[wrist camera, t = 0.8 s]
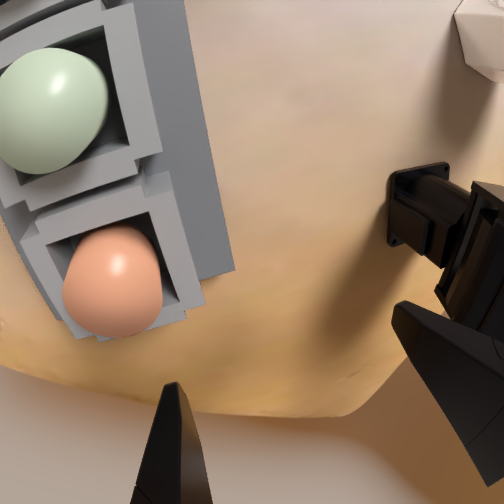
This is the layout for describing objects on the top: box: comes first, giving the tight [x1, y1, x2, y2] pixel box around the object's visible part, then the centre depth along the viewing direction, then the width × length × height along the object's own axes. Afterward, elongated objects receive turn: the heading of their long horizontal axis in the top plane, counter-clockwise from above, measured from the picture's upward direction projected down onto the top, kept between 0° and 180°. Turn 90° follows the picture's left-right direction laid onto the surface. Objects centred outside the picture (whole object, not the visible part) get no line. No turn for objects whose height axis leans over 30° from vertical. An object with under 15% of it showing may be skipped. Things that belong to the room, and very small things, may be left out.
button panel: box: [0, 0, 235, 342], centre depth 11 cm, size 12×24×5 cm, turn 9°
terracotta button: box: [62, 221, 163, 338], centre depth 14 cm, size 4×4×3 cm
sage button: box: [0, 48, 112, 174], centre depth 9 cm, size 4×4×3 cm
